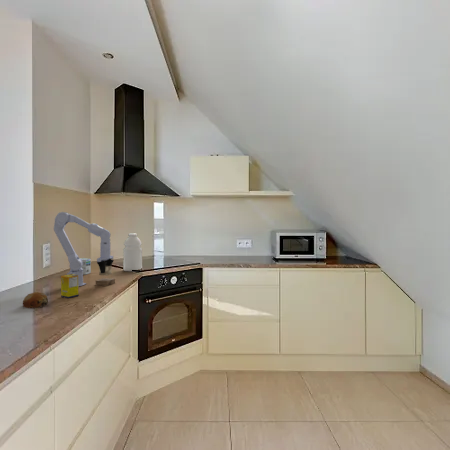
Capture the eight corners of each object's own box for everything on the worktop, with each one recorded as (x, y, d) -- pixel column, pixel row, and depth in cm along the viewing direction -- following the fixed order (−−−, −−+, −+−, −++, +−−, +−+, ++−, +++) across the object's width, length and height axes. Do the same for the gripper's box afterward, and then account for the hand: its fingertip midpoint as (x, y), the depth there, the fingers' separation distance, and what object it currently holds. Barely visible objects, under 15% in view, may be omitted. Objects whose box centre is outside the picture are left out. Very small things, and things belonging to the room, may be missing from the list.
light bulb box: (91, 273, 234) (91, 258, 234) (86, 274, 228) (86, 259, 227) (77, 272, 235) (77, 257, 235) (71, 274, 229) (71, 259, 228)
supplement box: (70, 294, 170) (70, 273, 170) (78, 296, 167) (78, 274, 167) (60, 297, 165) (60, 275, 165) (68, 298, 162) (68, 276, 162)
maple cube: (106, 275, 194) (106, 267, 194) (99, 275, 195) (99, 266, 195) (111, 274, 199) (111, 266, 199) (104, 273, 200) (104, 265, 200)
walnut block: (107, 286, 193) (107, 281, 193) (95, 285, 194) (95, 280, 194) (114, 283, 200) (114, 278, 200) (103, 282, 202) (103, 278, 202)
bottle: (125, 272, 240) (125, 234, 239) (121, 269, 252) (121, 233, 251) (144, 270, 246) (144, 233, 246) (139, 268, 259) (139, 233, 258)
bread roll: (44, 309, 155) (41, 293, 157) (53, 304, 149) (49, 287, 151) (21, 314, 148) (18, 297, 149) (29, 308, 142) (26, 290, 144)
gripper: (104, 251, 189) (104, 274, 189) (117, 248, 203) (117, 270, 203) (93, 250, 190) (93, 273, 191) (107, 248, 205) (107, 270, 205)
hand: (105, 272), depth 197 cm, fingers closed on maple cube, 5 cm apart
